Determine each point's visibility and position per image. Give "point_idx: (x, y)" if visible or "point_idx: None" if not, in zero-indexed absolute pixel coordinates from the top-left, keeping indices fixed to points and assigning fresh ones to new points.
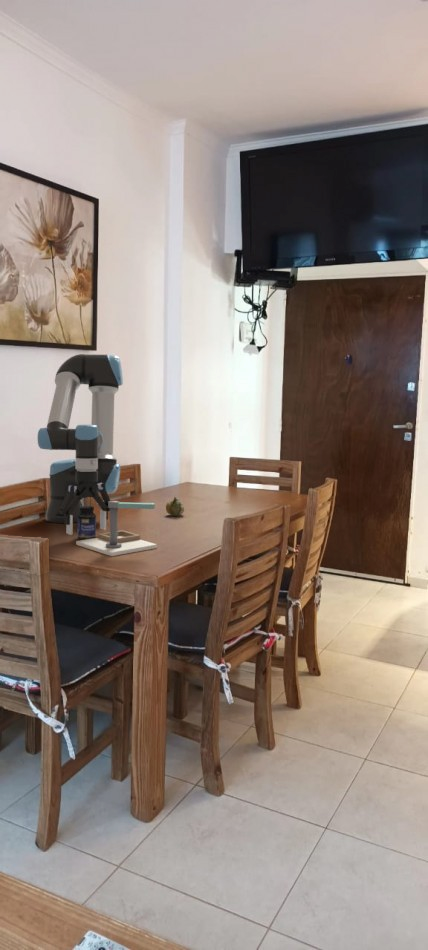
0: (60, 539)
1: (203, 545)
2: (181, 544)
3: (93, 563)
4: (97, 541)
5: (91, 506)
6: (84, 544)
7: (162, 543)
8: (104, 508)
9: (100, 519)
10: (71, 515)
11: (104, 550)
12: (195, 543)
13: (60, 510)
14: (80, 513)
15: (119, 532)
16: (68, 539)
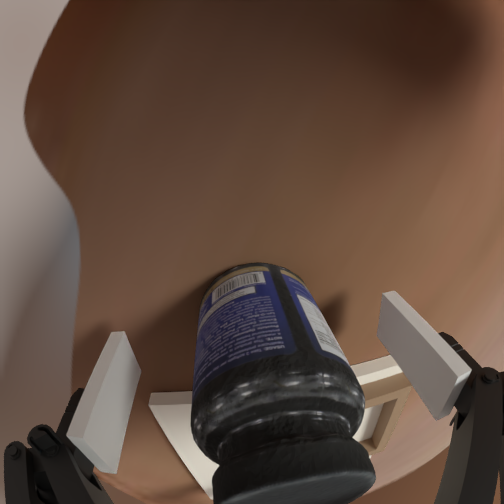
0: (101, 261)
1: (437, 448)
2: (423, 443)
3: (150, 497)
4: None
5: (357, 491)
6: (170, 438)
7: (408, 435)
8: (454, 430)
9: (415, 335)
10: (107, 470)
11: (203, 488)
12: (445, 436)
13: (14, 468)
14: (217, 447)
15: (383, 399)
16: (144, 284)
